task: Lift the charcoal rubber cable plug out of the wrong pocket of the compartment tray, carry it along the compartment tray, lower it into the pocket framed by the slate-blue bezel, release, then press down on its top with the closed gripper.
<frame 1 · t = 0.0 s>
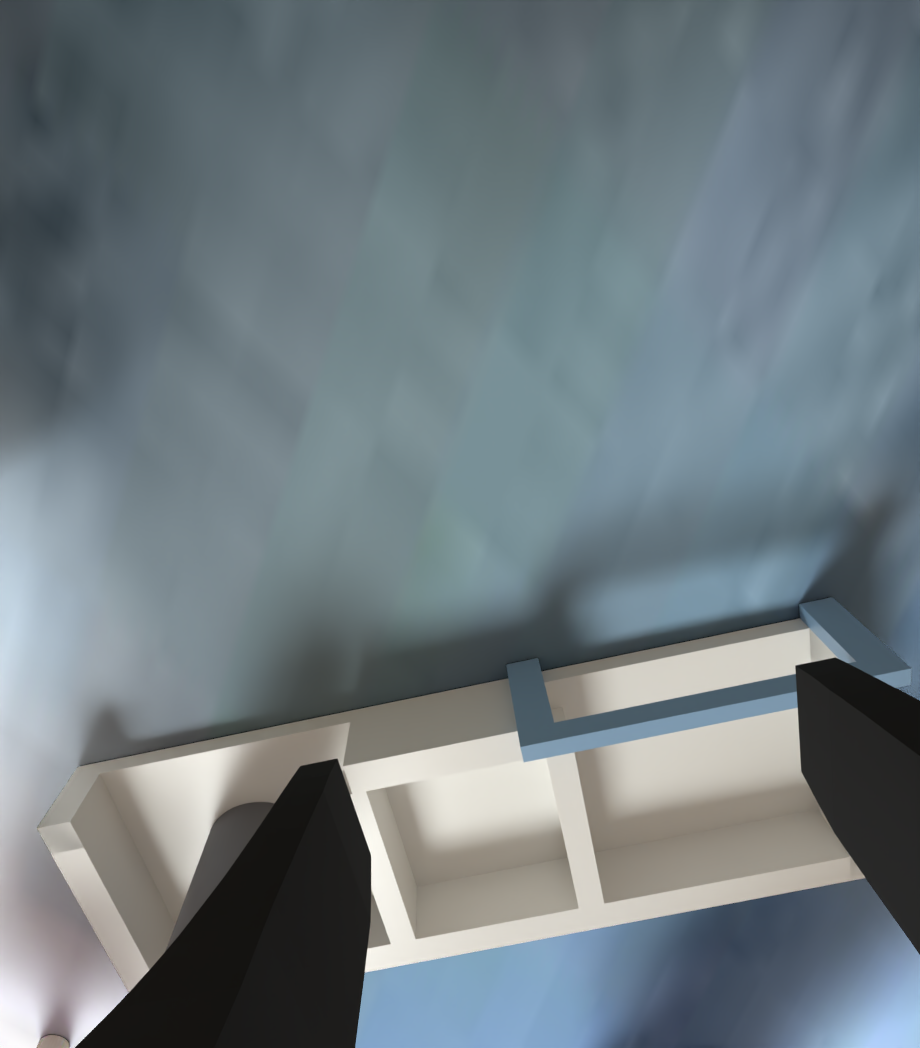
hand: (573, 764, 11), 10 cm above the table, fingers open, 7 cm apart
compartment tray: (472, 790, 24), on the table
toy: (57, 1039, 28), on the table
plug: (264, 845, 24), point 1 cm above the table, touching compartment tray
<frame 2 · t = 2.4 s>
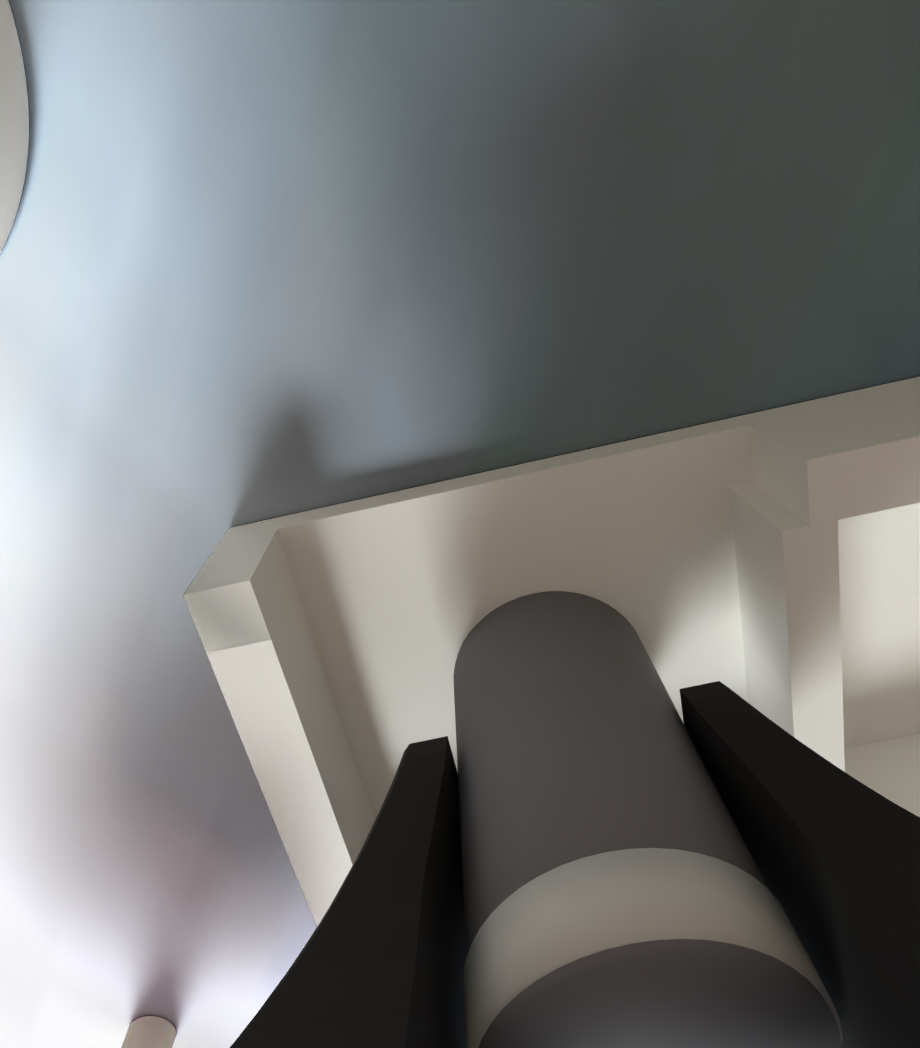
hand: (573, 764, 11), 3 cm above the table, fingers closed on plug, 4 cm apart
compartment tray: (908, 585, 14), on the table
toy: (155, 1023, 18), on the table
plug: (550, 677, 14), point 1 cm above the table, touching compartment tray, gripper
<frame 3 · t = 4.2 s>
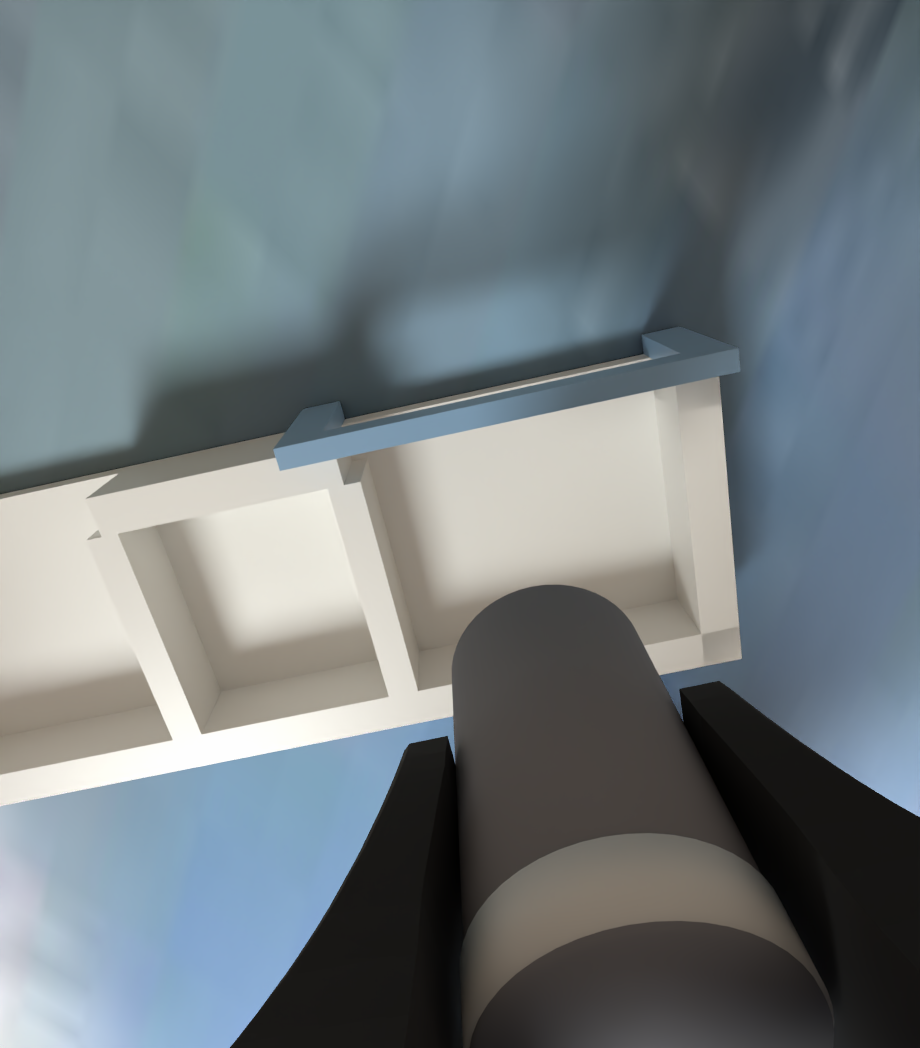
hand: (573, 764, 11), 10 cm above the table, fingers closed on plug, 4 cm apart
compartment tray: (280, 575, 21), on the table
plug: (547, 671, 14), point 7 cm above the table, touching gripper
when the fingers open (4 cm above the table, at t = 6.1 s): plug stays where it is, resting on compartment tray.
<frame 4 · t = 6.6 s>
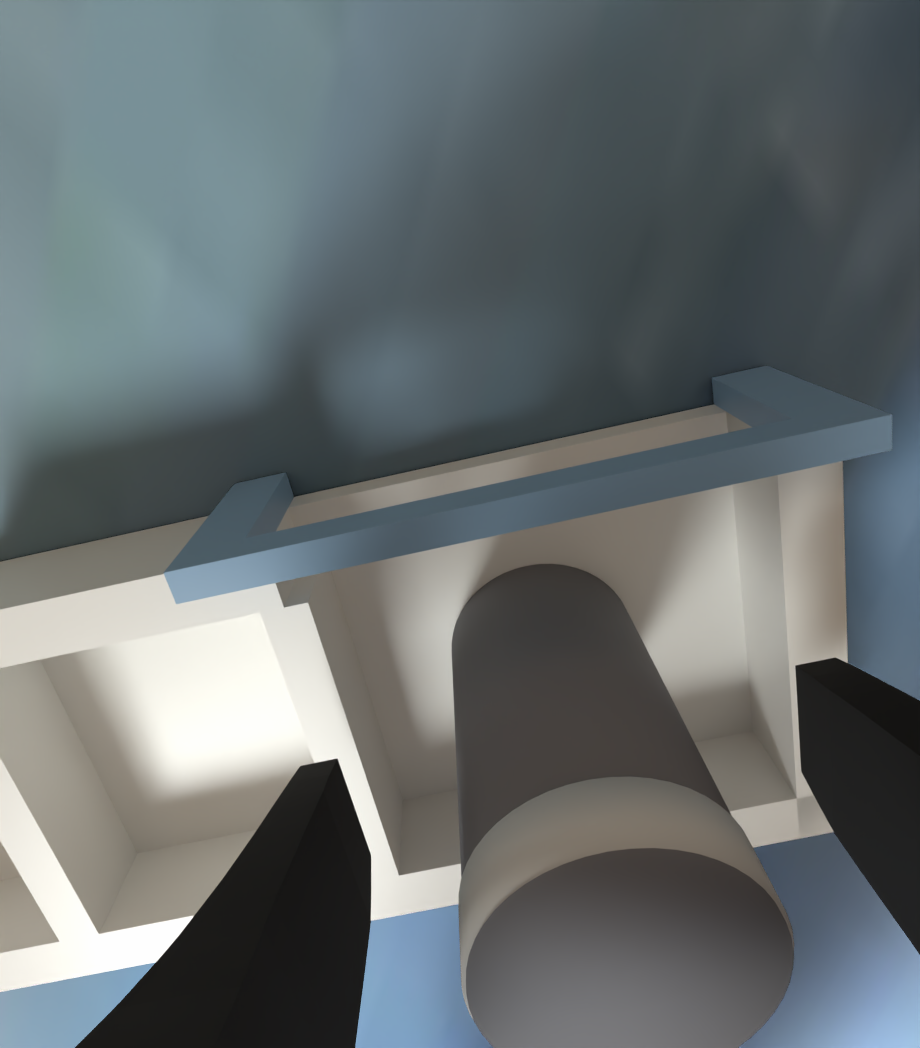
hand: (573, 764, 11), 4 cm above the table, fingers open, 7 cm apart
compartment tray: (212, 701, 15), on the table
plug: (542, 646, 15), point 1 cm above the table, touching compartment tray
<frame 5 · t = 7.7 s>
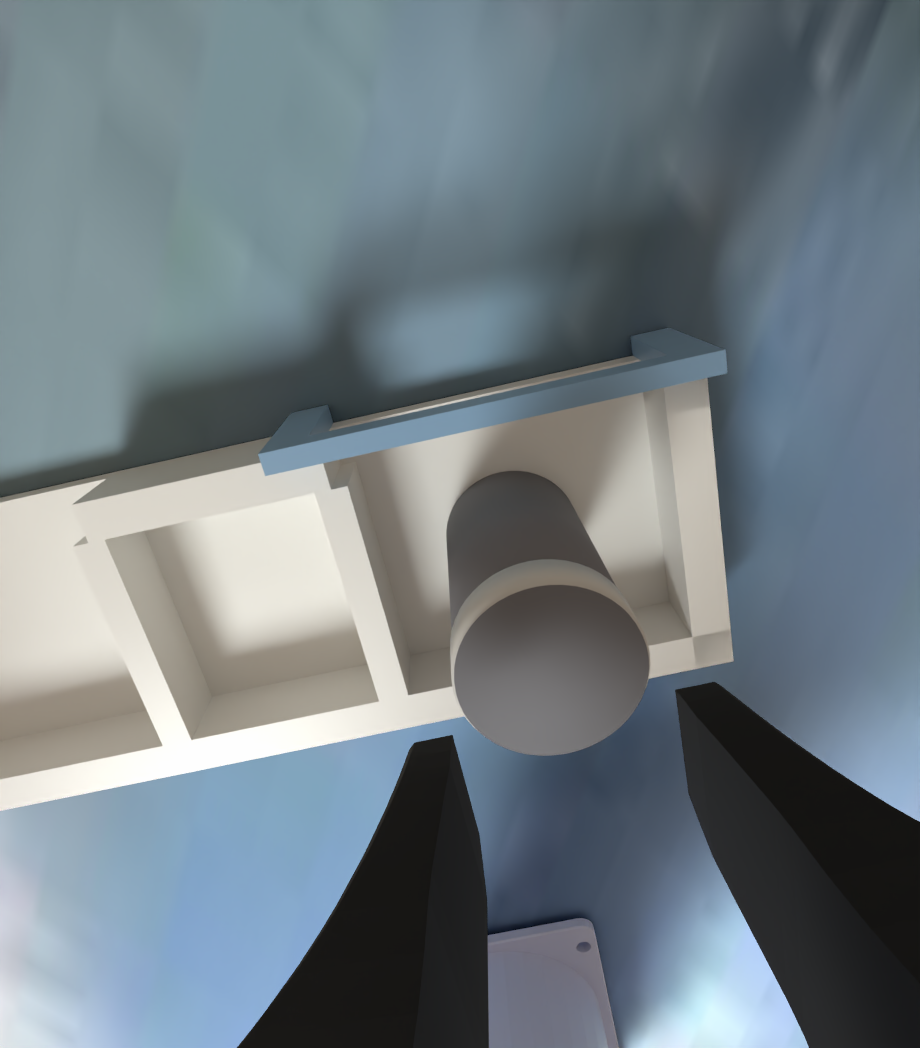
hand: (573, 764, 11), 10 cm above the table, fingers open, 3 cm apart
compartment tray: (270, 579, 21), on the table
plug: (512, 533, 20), point 1 cm above the table, touching compartment tray
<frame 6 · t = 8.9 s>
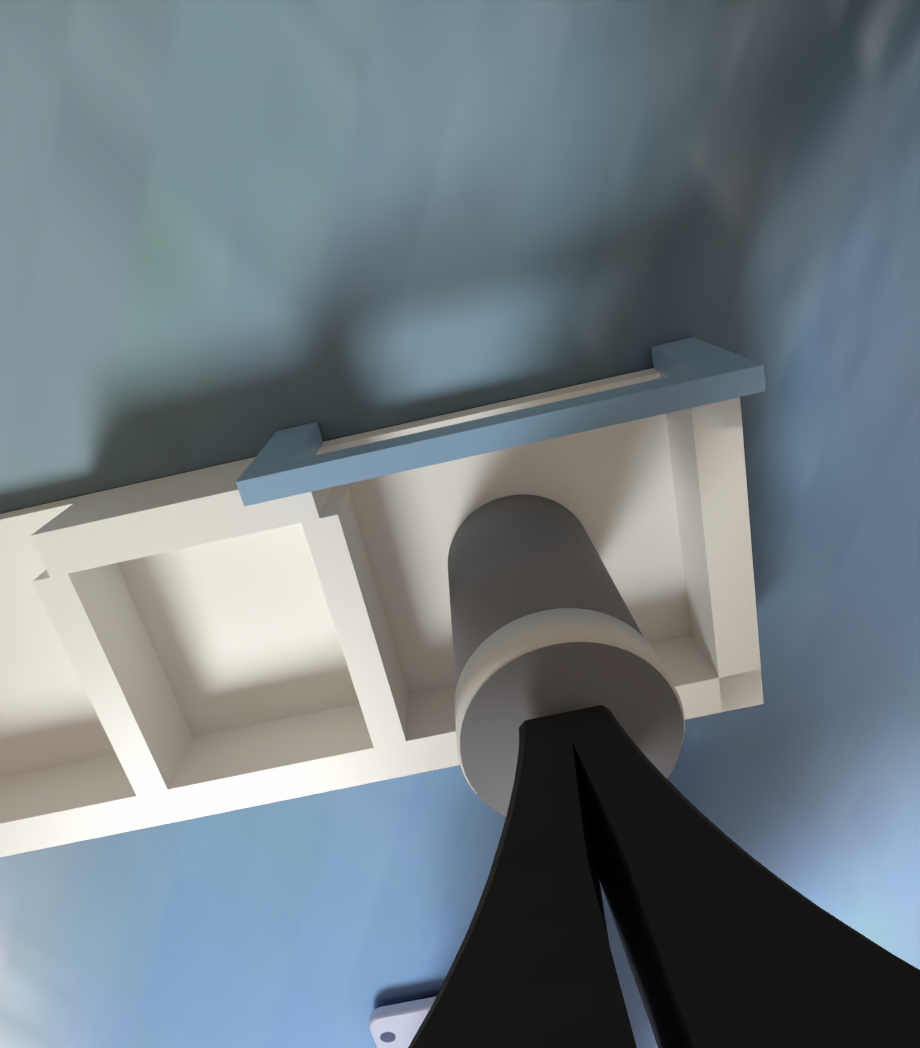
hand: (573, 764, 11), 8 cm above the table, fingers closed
compartment tray: (255, 611, 19), on the table
plug: (519, 562, 18), point 1 cm above the table, touching compartment tray
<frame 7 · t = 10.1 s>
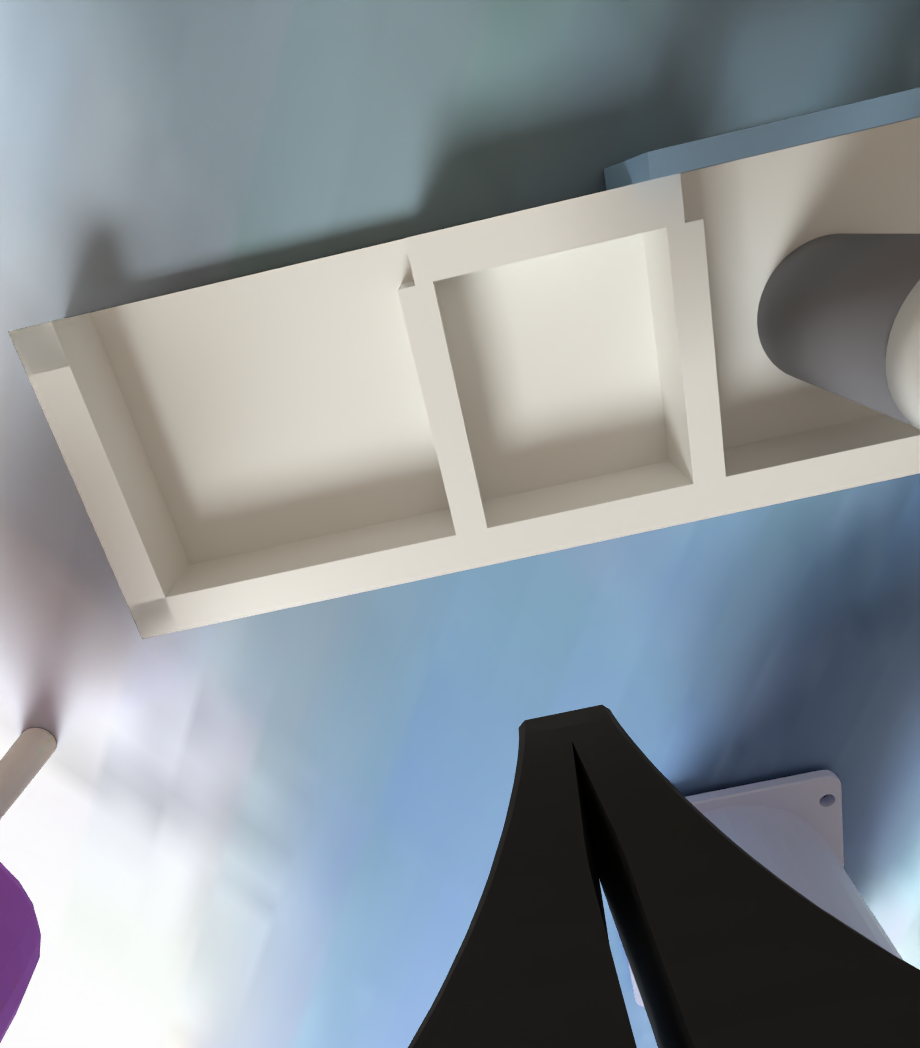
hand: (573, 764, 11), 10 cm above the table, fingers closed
compartment tray: (553, 369, 20), on the table
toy: (41, 738, 23), on the table
plug: (828, 309, 19), point 1 cm above the table, touching compartment tray
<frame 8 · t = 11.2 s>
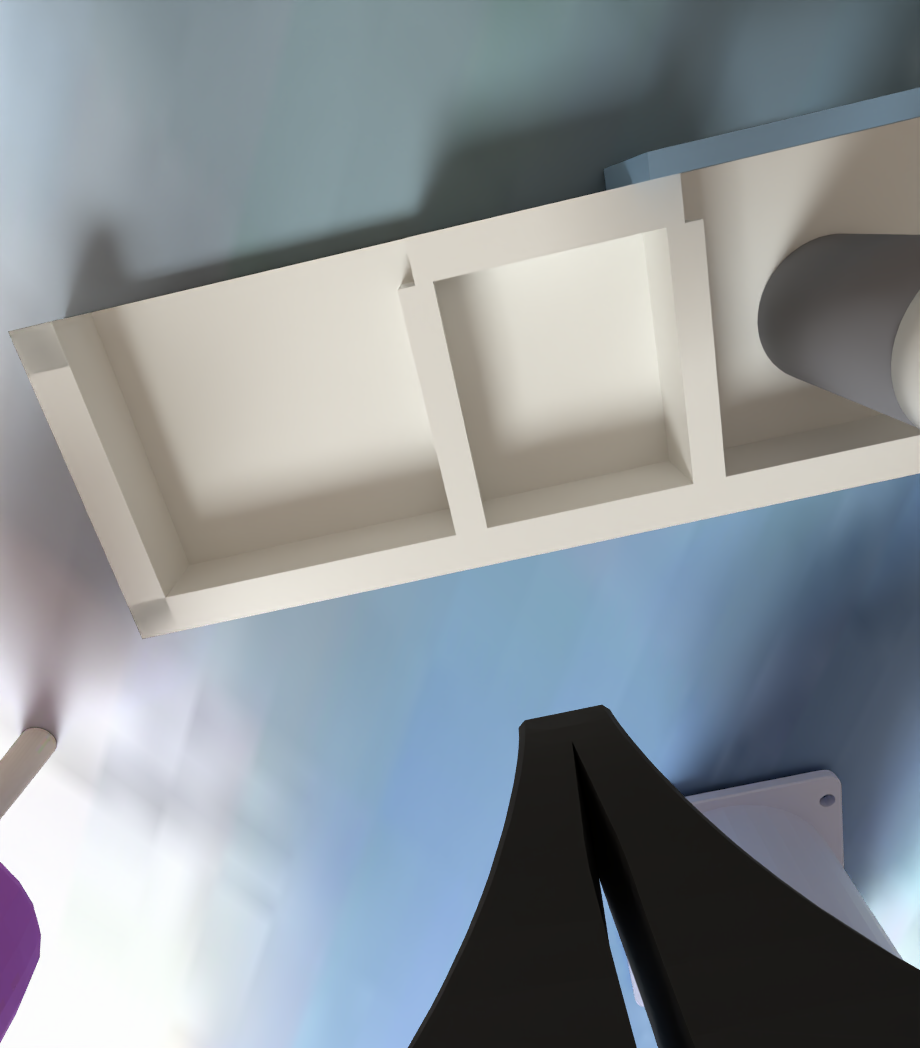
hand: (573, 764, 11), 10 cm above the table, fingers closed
compartment tray: (553, 369, 20), on the table
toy: (41, 738, 23), on the table
plug: (828, 309, 19), point 1 cm above the table, touching compartment tray
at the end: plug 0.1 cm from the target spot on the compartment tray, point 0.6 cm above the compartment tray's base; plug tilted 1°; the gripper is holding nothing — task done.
